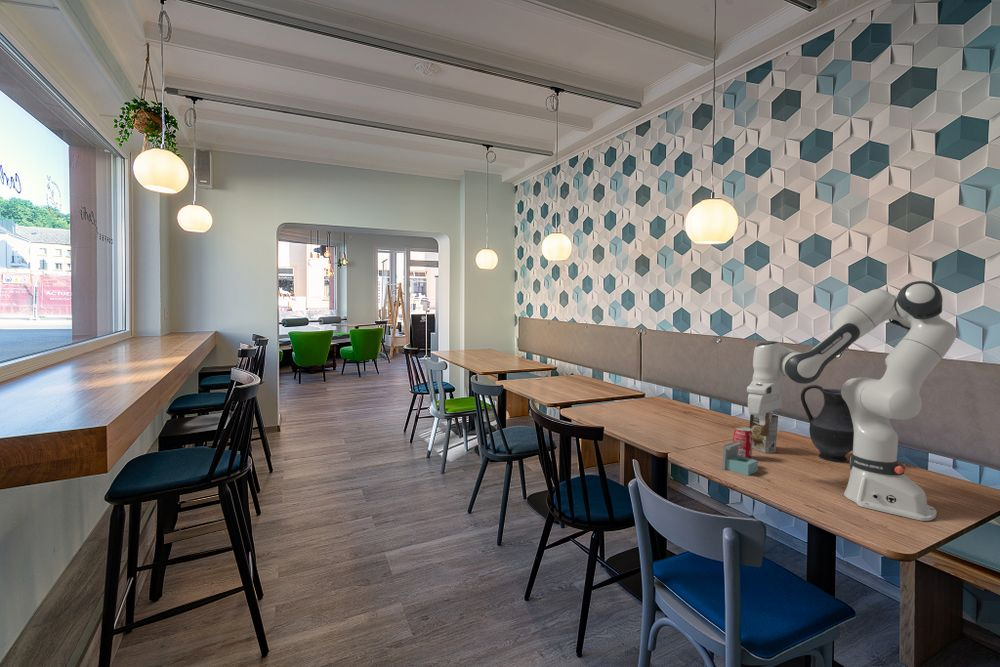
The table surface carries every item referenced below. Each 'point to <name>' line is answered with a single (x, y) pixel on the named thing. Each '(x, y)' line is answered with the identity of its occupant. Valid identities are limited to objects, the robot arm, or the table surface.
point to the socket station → (737, 460)
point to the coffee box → (764, 442)
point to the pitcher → (831, 425)
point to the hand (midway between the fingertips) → (765, 424)
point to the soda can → (744, 441)
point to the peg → (765, 426)
